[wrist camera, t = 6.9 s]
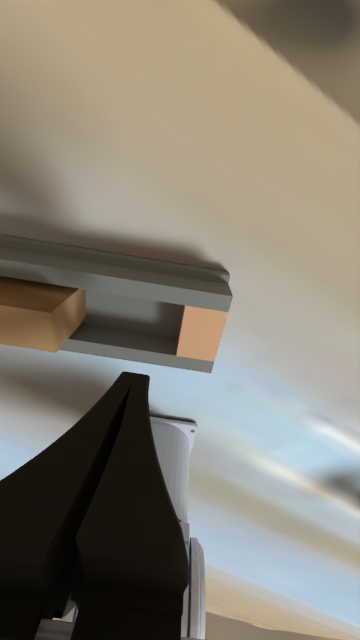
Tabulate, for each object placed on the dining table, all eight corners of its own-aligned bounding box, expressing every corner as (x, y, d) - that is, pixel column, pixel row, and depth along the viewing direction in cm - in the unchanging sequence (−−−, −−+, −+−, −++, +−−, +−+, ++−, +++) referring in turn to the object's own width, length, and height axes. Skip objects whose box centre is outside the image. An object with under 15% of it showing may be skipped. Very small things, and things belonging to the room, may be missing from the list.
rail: (207, 352, 22) (209, 378, 19) (-25, 316, 21) (-62, 336, 18) (228, 271, 18) (235, 288, 15) (-55, 225, 18) (-108, 232, 15)
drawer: (86, 316, 20) (55, 352, 15) (-8, 301, 19) (-67, 333, 15) (85, 284, 18) (50, 312, 14) (-17, 267, 18) (-85, 291, 14)
